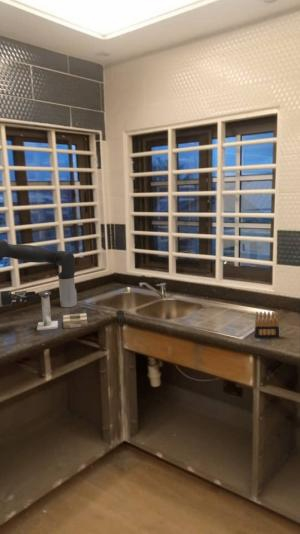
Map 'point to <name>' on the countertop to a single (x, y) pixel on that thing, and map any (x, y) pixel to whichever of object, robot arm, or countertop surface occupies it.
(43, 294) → the steel hook peg
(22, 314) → the countertop surface
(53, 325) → the pad
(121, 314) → the hand tool
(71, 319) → the eye block
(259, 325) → the ammunition clip
